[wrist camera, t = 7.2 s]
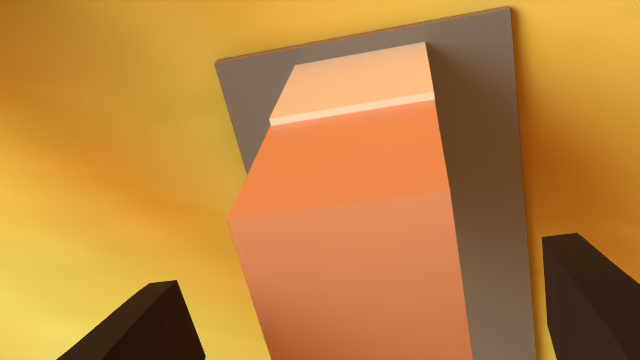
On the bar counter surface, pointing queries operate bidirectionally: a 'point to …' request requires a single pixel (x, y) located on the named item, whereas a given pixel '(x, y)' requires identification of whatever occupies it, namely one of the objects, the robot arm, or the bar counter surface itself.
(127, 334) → the robot arm
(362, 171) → the terracotta block
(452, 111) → the baseplate
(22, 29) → the bar counter surface
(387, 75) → the cream block
